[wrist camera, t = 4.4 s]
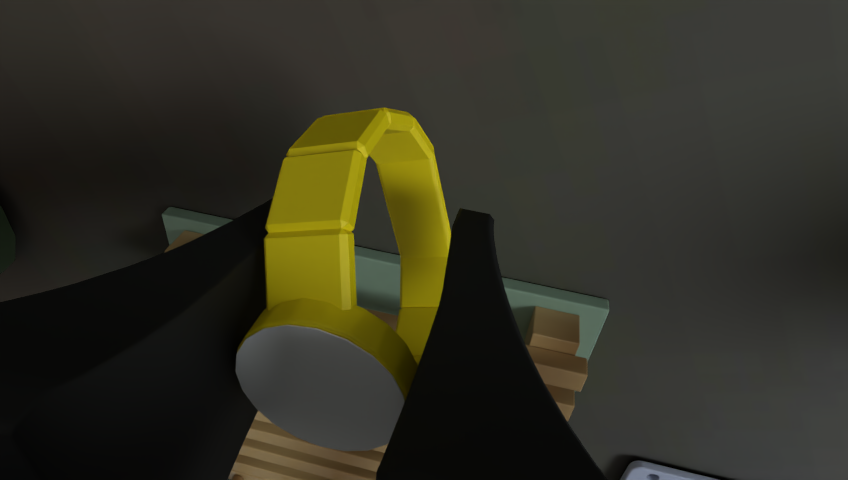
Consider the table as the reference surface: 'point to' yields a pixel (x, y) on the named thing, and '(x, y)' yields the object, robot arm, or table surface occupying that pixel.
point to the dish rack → (380, 295)
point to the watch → (345, 283)
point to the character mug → (6, 242)
